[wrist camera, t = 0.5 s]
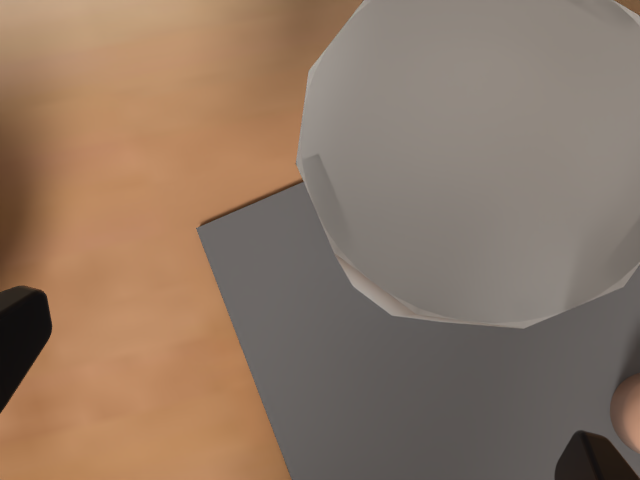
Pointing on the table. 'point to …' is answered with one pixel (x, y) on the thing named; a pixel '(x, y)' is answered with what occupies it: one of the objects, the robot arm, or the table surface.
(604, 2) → the cover cup
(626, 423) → the pinkish tan round piece
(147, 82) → the table surface
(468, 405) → the mat
